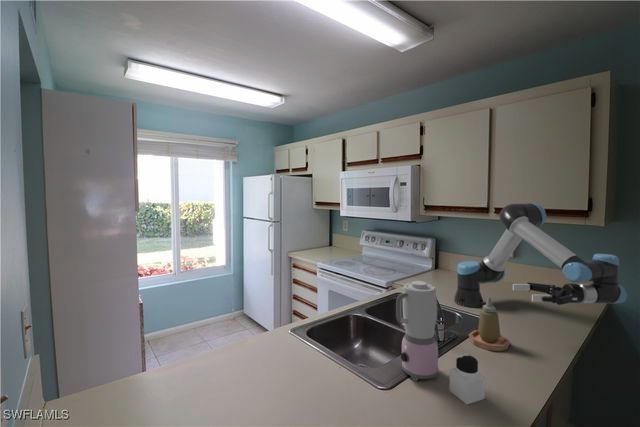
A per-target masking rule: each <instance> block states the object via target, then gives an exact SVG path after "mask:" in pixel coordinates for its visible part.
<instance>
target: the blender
mask: <svg viewBox="0 0 640 427" xmlns="http://www.w3.org/2000/svg"><path fill="white" fill-rule="evenodd" d="M437 303H438V301H437V288H436V286H435V285H434V284H430V283H427V282H425V281H423V280H413V281H412V282H408V283H405V284H404V285H403V287H402V293H401V294H399V295H398V296H397V297H396V303H395V306H396V307H395V309H396V315H395V316H396V321H397V322H398V323H399V324H404V329H405V331H404V332H405V334H404V336H403V337H402V341H401V354H400V358H401V367H402V368H401V369H403V372H405V373H406V374H407V375H409V376H410V378H411V380H412V379H414V380H413V381H415V380H418V381H419V379H422V380H424V379H425V380H429V379H433V378H436V377H437V376H438V375H439V346H438V343H437V340H436V337H435V329H436V322H437V316H438V315H437V313H438V312H437V311H438V309H437V307H438V306H437V305H438V304H437Z"/></svg>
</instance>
